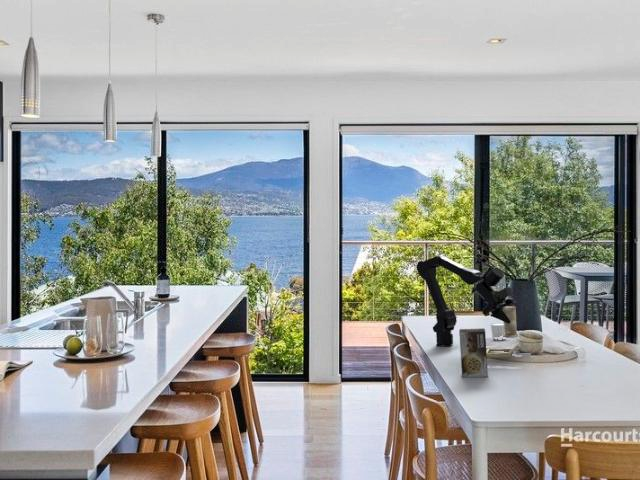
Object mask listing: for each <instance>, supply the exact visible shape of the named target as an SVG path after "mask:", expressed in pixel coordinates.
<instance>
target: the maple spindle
mask: <svg viewBox="0 0 640 480" xmlns="http://www.w3.org/2000/svg"><path fill="white" fill-rule="evenodd" d="M516 308H517V307H516V306H513V307H503V309H504V313H505V314H506V316H507V317H508V318H509V320H510V321H511V323H510V324H508V323H506V322H504V321H503V323H504V330H505V333H504V334H503V337H506V339H507V338H508V339H510V338H511V339H514V338H516V339H517V338H519V333H518V331H517V330H518V329H517V327H518V326H517V321H516V318H517V312H516V310H517V309H516Z"/></svg>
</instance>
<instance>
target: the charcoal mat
mask: <svg viewBox="0 0 640 480" xmlns="http://www.w3.org/2000/svg"><path fill="white" fill-rule="evenodd" d="M515 354H517V355H522V357H515V356H511V358H510V359H525V360H527V359H529V360H530V358H531V356H532V352H531V353H515ZM487 359H502V358H501V357H487Z"/></svg>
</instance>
